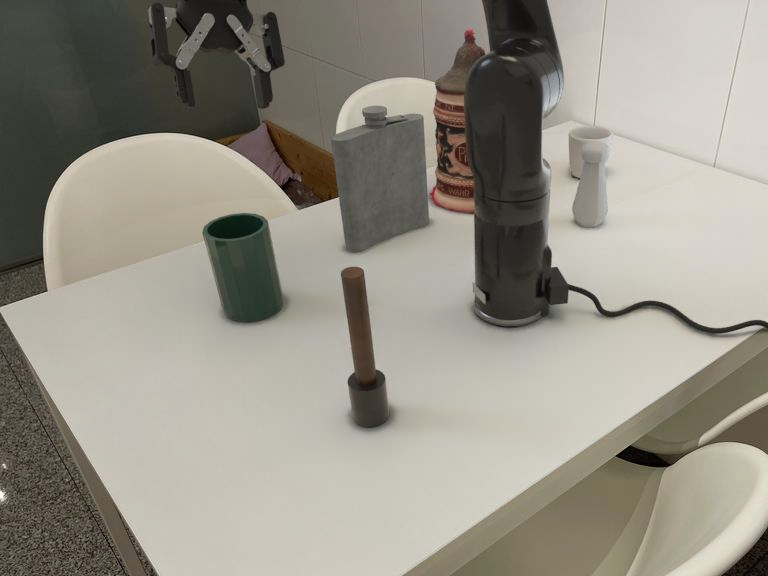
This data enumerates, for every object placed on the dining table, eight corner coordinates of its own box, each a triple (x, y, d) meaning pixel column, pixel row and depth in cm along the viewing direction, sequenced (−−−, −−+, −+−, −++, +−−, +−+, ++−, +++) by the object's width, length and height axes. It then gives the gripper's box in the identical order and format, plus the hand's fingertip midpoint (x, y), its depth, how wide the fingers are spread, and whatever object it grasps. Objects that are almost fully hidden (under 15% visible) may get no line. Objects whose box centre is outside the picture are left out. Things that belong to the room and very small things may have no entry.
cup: (614, 188, 126) (618, 145, 121) (569, 189, 126) (572, 145, 121) (605, 166, 134) (609, 125, 130) (563, 167, 135) (566, 125, 130)
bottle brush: (387, 401, 79) (371, 259, 68) (391, 424, 75) (375, 280, 65) (351, 406, 78) (330, 264, 67) (353, 429, 75) (331, 284, 64)
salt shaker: (566, 226, 114) (572, 148, 106) (575, 212, 118) (581, 136, 110) (602, 231, 112) (610, 152, 104) (610, 217, 116) (618, 140, 108)
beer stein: (482, 232, 118) (538, 187, 129) (490, 66, 98) (554, 29, 109) (406, 200, 124) (465, 160, 135) (398, 39, 105) (468, 7, 116)
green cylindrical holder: (284, 288, 99) (268, 210, 92) (283, 318, 93) (266, 237, 86) (226, 294, 98) (206, 216, 91) (221, 325, 92) (199, 243, 85)
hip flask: (353, 254, 107) (336, 124, 95) (338, 245, 110) (320, 117, 98) (433, 222, 116) (426, 99, 104) (417, 215, 118) (409, 94, 106)
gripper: (143, -69, 69) (171, 102, 73) (279, -51, 77) (299, 103, 81) (127, -45, 75) (155, 112, 79) (255, -30, 83) (275, 112, 87)
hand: (228, 107), depth 80 cm, fingers open, 8 cm apart
